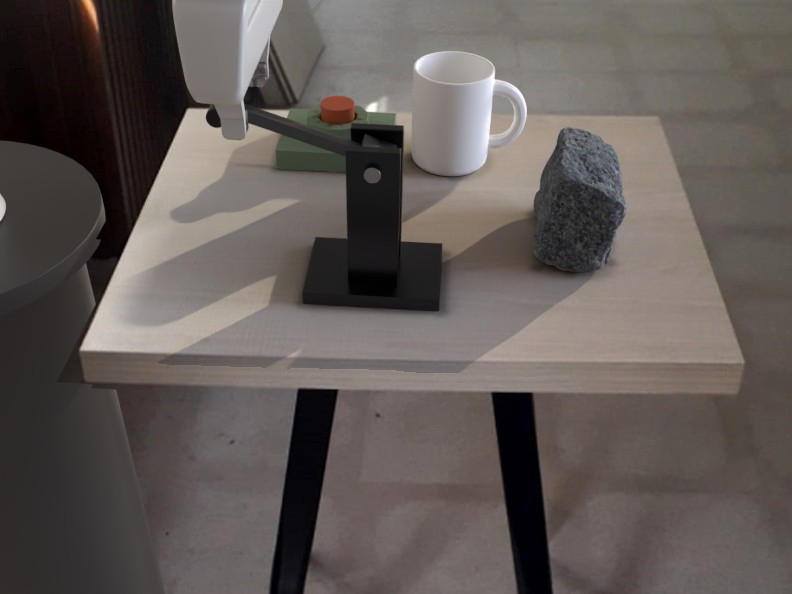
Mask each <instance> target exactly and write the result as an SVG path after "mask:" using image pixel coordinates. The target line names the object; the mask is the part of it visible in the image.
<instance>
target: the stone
mask: <svg viewBox="0 0 792 594" xmlns="http://www.w3.org/2000/svg"><path fill="white" fill-rule="evenodd" d="M623 192H624V189H623V181H622V170H621V163H620V161H619V158H618V154H617V150H616V149H615V148H614V147H613V145H612V144H609V143H606V142H605V141H604V140H603V139H602V137H601V136H600V135H598V134H595V133H593V132H590V131H588V130H586V129H582V128H576V127H570V126H567V127H563V128H561V129H560V131H559V133H558V134H557V139H556V145H555V147H554V149H553V150H552V153H551V155H550V156H549V159H547V161H546V163H545V165H544V167H543V169H542V172H541V175H540V179H539V190H537V192H535V196H534V198H533V213H534V215H535V216H536V222H535V227H534V229H533V235H532V245H533V247H532V248H533V249H532V251H533V252H532V253H533V254H534V256H535V258H537V259H538V260H540V262H542V263H544V264H545V265H549V266H554V267H555V268H556V269H558V270H561V271H567V272H573V273H591V272H595V271H599V270H601V269H602V268H603V267H604V266H605V265H607V264H608V262H609V261H610V258H611V255H612V252H613V249H614V248H613V247H614V244H615V243H616V239H617V231H618V229H619V227H620V226H621V225H622V223H623V221H624V219H625V217H626V212H627V210H628V208H627V207H628V206H627V203H626V200H625V199H626V198H625V196H624V194H623Z"/></svg>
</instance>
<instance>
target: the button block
mask: <svg viewBox="0 0 792 594" xmlns="http://www.w3.org/2000/svg"><path fill="white" fill-rule="evenodd" d="M354 108H355V119H354V121H352V122H351V123H347V124H342V125H335V124H329V123H326V122H323V121H322V120H321V105H320V104H318V105H316V106H314V107H312V108H291V107H290V108H289V110H288V114H287V116H286V118H287V119H290V120H293V121H296V122H299V123H302V124H304V125H307V126H310V127H313V128H316V129H319V130H322V131H325V132H328V133H330V134H333V135H336V136H339V137H342V138H345V139H348V140H351V130H350V128H351V124H352V123H361V124H382V125H397V113H396V112H379V111H378V112H377V111H375V112H374V111H367V110H366V109H365V108H364V107H362V106H360V105H357V104H354ZM275 157H276V169H277V170H286V171H287V170H289V171H290V170H291V171H309V172H328V173H331V172H332V173H346V159H345V156H342V155H339V154H337V153H334V152H331V151H328V150H325V149H322V148H319V147H316V146H313V145H310V144H307V143H304V142H302V141H299V140H296V139H293V138H290V137H287V136H284V135H281V134H280V136H279V140H278V143H277V146H276V149H275Z"/></svg>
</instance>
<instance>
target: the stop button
mask: <svg viewBox="0 0 792 594" xmlns="http://www.w3.org/2000/svg"><path fill="white" fill-rule="evenodd" d="M319 105H321V120H322V121H323V122H326V123H329V124H335V125H342V124H347V123H351V122H352V121H354V119H355V108H354V105H355V101H354V100H353V98H351V97H348V96H344V95H330V96H327V97H325V98H323V99H322V100H321V101H320V104H319Z"/></svg>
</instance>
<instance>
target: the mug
mask: <svg viewBox="0 0 792 594" xmlns="http://www.w3.org/2000/svg"><path fill="white" fill-rule="evenodd" d="M495 76H496V68H495V65H494V64H493V62H491V61H490V60H489V59H487V58H486V57H484V56H481V55H478V54H475V53H471V52H467V51H457V50H443V51H436V52H431V53H428V54H425V55H422V56H420V57H419V58H418V59H416V60H415V62H414V64H413V74H412V102H411V103H412V105H411V106H412V107H411V137H410V139H411V141H410V150H411V157H412V160H413V161H414V163H415V164H416V165H417V166H418V167H419V168H420V169H421V170H423V171H425V172H427V173H429V174H432V175H437V176H441V177H461V176H465V175H470V174H472V173H475V172H477V171H478V170H479V169H480V168H482V167H483V166H484V165H485V163H486V161H487V158H488V151H489V149H491V150H492V149H500V148H504V147H506V146H508V145H510V144H511V143H513V142H515V141H516V140H517V139H518V138H519V136H520V135H521V133H522V132H523V130H524V127H525V125H526V120H527V114H528V111H527V110H528V109H527V103H526V99H525V98H524V96H523V94H522V92H521V91H520V90H519V89H518V88H517V87H516V86H515V85H513V84H511V83H510V82H507V81H505V80H501V79H495ZM494 96H496V97H502V98H505V99H508V101H510V103H511V106H512V107H513V120H512V123H511V125H510V126H509V127H508V128H507V130H505V131H504V132H502V133H497V134H491V133H490V131H491V119H492V110H493V109H492V108H493V100H494V99H493V97H494Z"/></svg>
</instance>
